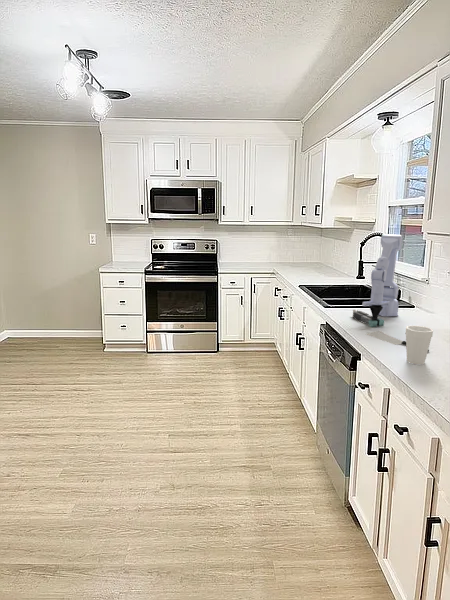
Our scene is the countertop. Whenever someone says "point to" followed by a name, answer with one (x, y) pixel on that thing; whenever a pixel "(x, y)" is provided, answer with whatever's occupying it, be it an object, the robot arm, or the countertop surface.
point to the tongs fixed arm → (365, 319)
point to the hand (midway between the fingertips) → (374, 319)
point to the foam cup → (417, 343)
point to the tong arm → (379, 321)
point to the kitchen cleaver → (387, 338)
